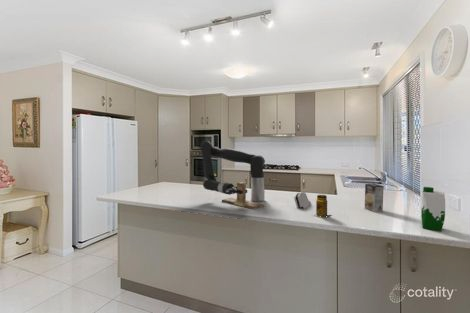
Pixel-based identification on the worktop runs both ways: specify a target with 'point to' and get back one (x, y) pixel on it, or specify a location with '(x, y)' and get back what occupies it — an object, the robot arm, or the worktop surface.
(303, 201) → the light grey flat case
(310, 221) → the worktop surface
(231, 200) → the walnut board
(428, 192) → the milk carton
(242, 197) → the upright board on stand
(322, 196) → the condiment
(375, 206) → the coffee box
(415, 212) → the worktop surface
